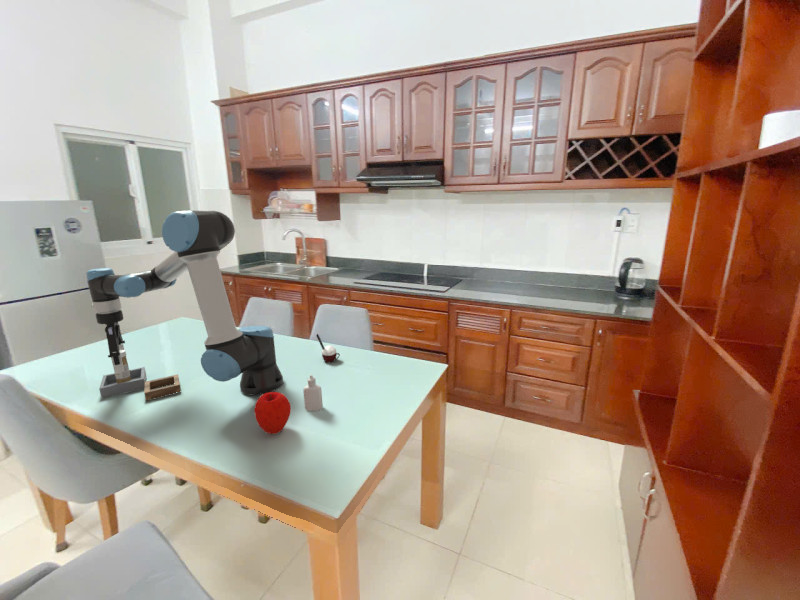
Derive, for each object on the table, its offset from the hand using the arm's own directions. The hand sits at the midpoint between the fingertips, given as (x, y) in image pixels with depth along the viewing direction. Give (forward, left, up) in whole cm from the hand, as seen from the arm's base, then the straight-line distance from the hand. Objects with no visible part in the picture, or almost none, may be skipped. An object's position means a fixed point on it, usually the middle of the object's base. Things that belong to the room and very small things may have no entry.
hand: (120, 366), depth 133 cm
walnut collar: (-13, -12, -8) cm, 20 cm away
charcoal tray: (0, 0, -8) cm, 8 cm away
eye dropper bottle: (-58, -53, -8) cm, 79 cm away
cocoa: (-24, -73, -9) cm, 77 cm away
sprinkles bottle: (-1, 0, -8) cm, 8 cm away
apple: (-63, -39, -8) cm, 75 cm away
